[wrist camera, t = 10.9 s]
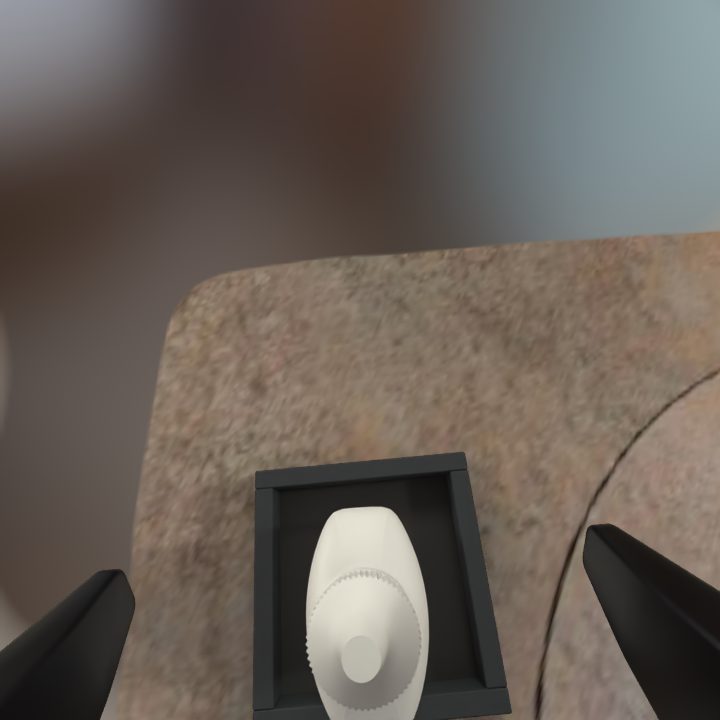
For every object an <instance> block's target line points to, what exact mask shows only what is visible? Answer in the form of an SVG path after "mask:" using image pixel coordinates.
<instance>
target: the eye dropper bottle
mask: <svg viewBox="0 0 720 720" xmlns="http://www.w3.org/2000/svg"><path fill="white" fill-rule="evenodd" d="M306 628H307V636H306V639H307V640H308V641H307V643H306V646H307V647H308V649H307V651H306V652H307V653H308V654H309V656H308V658H307V659H308V660H309V661H310V665H309V666H310V667H311V668H312V672H311V673H313V674H314V677H315V681H316V684H317V687H318V690H319V693H320V696H321V699H322V702H323V704H324V707H325V709H326V711H327V713H328V715H329V718H330V720H413V719H414V716H415V713H416V711H417V708H418V705H419V701H420V697H421V694H422V690H423V685H424V680H425V674H426V667H427V659H428V647H429V619H428V607H427V599H426V592H425V587H424V582H423V578H422V574H421V570H420V566H419V563H418V560H417V557H416V554H415V552H414V549H413V546H412V544H411V542H410V539H409V537H408V535H407V533H406V531H405V529H404V526H403V525H402V523H401V521H400V520H399V518H398V516H397V515H396V514H395V513H394V512H393V511H392V510H391V509H388V508H384V507H360V508H348V509H341V510H339V511H336V512H334V513H333V514H332V515H331V516H330V517H329V519H328V520H327V522H326V524H325V526H324V528H323V530H322V533H321V535H320V538H319V540H318V543H317V547H316V550H315V553H314V557H313V561H312V565H311V570H310V576H309V582H308V589H307V601H306Z"/></svg>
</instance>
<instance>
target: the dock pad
mask: <svg viewBox="0 0 720 720" xmlns="http://www.w3.org/2000/svg"><path fill="white" fill-rule="evenodd" d="M255 488H256V489H257V490H256V491H255V561H254V655H253V710H254V711H253V720H330V718H329V715H328V713H327V711H326V709H325V707H324V704H323V702H322V699H321V696H320V693H319V690H318V687H317V684H316V681H315V677H314V674H313V673H311V672H312V668H311V667H310V666H309V665H310V661H309V660H308V659H307V658H308V656H309V654H308V653H307V652H306V651H307V649H308V647H307V646H306V643H307V641H308V640H307V639H306V636H307V628H306V601H307V589H308V582H309V576H310V570H311V565H312V561H313V557H314V553H315V550H316V547H317V543H318V540H319V538H320V535H321V533H322V530H323V528H324V526H325V524H326V522H327V520H328V519H329V517H330V516H331V515H332V514H333V513H334V512H336V511H339V510H341V509H348V508H360V507H384V508H388V509H391V510H392V511H393V512H394V513H395V514H396V515H397V516H398V518H399V520H400V521H401V523H402V525H403V526H404V529H405V531H406V533H407V535H408V537H409V539H410V542H411V544H412V546H413V549H414V552H415V554H416V557H417V560H418V563H419V566H420V570H421V574H422V578H423V582H424V587H425V592H426V599H427V607H428V619H429V647H428V659H427V667H426V674H425V680H424V685H423V690H422V694H421V697H420V701H419V705H418V708H417V711H416V713H415V716H414V719H413V720H447V719H458V718H468V717H479V716H490V715H500V714H510V713H512V710H511V704H510V699H509V693H508V689H507V687H506V686H507V683H506V677H505V672H504V666H503V661H502V655H501V650H500V644H499V639H498V633H497V628H496V622H495V617H494V611H493V606H492V600H491V595H490V589H489V584H488V578H487V573H486V567H485V562H484V556H483V551H482V545H481V540H480V534H479V529H478V523H477V518H476V512H475V507H474V501H473V496H472V490H471V485H470V480H469V474H468V471H467V463H466V457H465V453H464V452H456V453H446V454H435V455H424V456H414V457H403V458H392V459H382V460H371V461H360V462H350V463H339V464H328V465H317V466H307V467H296V468H285V469H275V470H264V471H256V473H255Z"/></svg>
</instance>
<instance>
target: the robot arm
mask: <svg viewBox="0 0 720 720" xmlns="http://www.w3.org/2000/svg"><path fill="white" fill-rule="evenodd" d="M583 564H584V568H585V570H586V573H587V575H588V577H589V579H590V582H591V584H592V586H593V588H594V591H595V593H596V595H597V598H598V600H599V602H600V604H601V607H602V609H603V611H604V613H605V616H606V618H607V620H608V622H609V625H610V627H611V629H612V631H613V634H614V636H615V638H616V640H617V642H618V645H619V647H620V649H621V651H622V653H623V655H624V657H625V659H626V661H627V663H628V665H629V666H630V668H631V670H632V672H633V674H634V676H635V677H636V679H637V681H638V683H639V685H640V686H641V688H642V690H643V692H644V694H645V695H646V697H647V699H648V701H649V703H650V704H651V706H652V708H653V710H654V712H655V713H656V715H657V717H658V719H659V720H720V591H719V590H717V589H715V588H714V587H712V586H711V585H709V584H707V583H706V582H704V581H703V580H701V579H699V578H698V577H696V576H695V575H693V574H691V573H690V572H688V571H687V570H685V569H683V568H682V567H680V566H679V565H677V564H675V563H674V562H672V561H671V560H669V559H667V558H666V557H664V556H663V555H661V554H659V553H658V552H656V551H655V550H653V549H651V548H650V547H648V546H647V545H645V544H643V543H642V542H640V541H639V540H637V539H635V538H634V537H632V536H631V535H629V534H627V533H626V532H624V531H623V530H621V529H619V528H618V527H616V526H614V525H612V524H598V525H591V526H589V527H588V529H587V532H586V538H585V544H584V550H583ZM134 610H135V598H134V595H133V592H132V590H131V587H130V585H129V583H128V580H127V578H126V575H125V574H124V572H123V571H122V570H120V569H112V570H102V571H99V572H97V573H95V574H94V575H93V576H92V577H90V578H89V579H88V580H87V581H85V582H84V583H83V584H82V585H80V586H79V587H78V588H77V589H76V590H75V591H73V592H72V593H71V594H70V595H68V596H67V597H66V598H65V599H63V600H62V601H61V602H60V603H59V604H57V605H56V606H55V607H54V608H52V609H51V610H50V611H49V612H48V613H47V614H45V615H44V616H43V617H42V618H40V619H39V620H38V621H37V622H35V623H34V624H33V625H32V626H31V627H29V628H28V629H27V630H26V631H24V632H23V633H22V634H21V635H20V636H19V637H17V638H16V639H15V640H14V641H12V642H11V643H10V644H9V645H8V646H6V647H5V648H4V649H3V650H1V651H0V720H100V718H101V715H102V712H103V710H104V707H105V704H106V702H107V698H108V696H109V693H110V690H111V687H112V683H113V680H114V677H115V674H116V670H117V667H118V664H119V660H120V657H121V654H122V651H123V647H124V644H125V641H126V637H127V634H128V631H129V627H130V624H131V621H132V618H133V614H134Z"/></svg>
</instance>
